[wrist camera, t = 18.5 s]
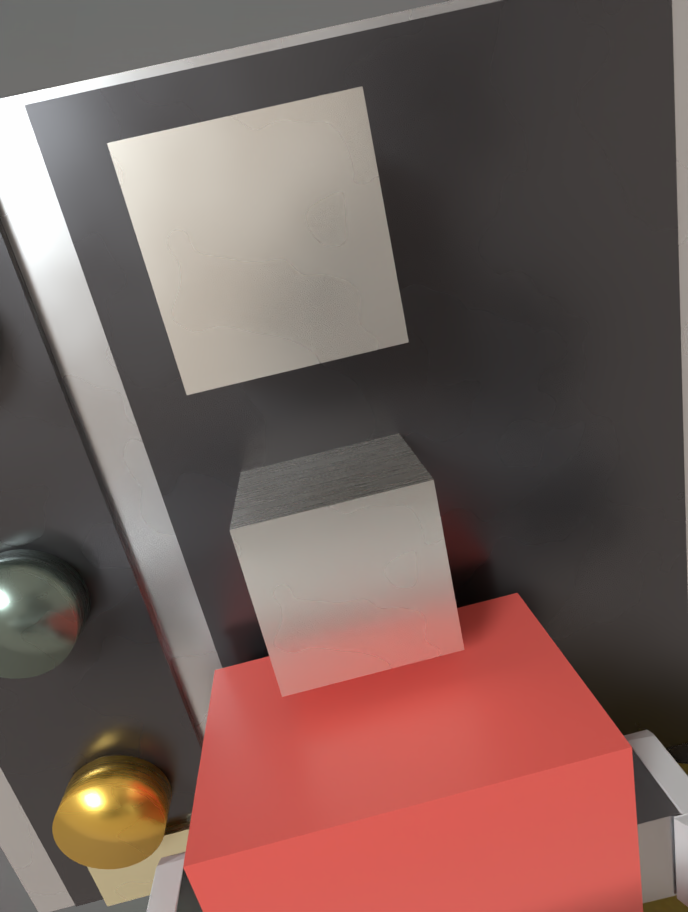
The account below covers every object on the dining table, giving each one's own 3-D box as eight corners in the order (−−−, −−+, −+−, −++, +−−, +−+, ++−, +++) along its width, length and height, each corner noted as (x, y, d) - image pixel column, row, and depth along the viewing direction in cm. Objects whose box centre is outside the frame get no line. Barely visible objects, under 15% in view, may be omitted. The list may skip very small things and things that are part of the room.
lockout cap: (517, 592, 11) (631, 746, 7) (548, 815, 13) (649, 1022, 9) (214, 669, 11) (183, 867, 7) (291, 884, 13) (296, 1123, 9)
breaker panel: (662, 11, 12) (986, -211, 6) (682, 645, 17) (871, 819, 12) (-216, 205, 11) (-678, 142, 6) (81, 802, 16) (-16, 1065, 11)
